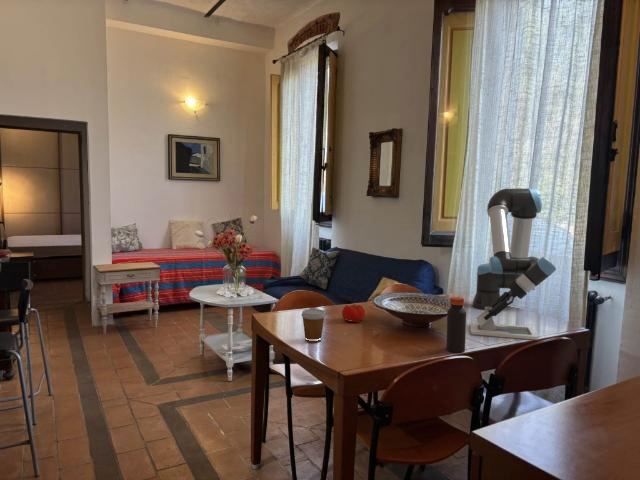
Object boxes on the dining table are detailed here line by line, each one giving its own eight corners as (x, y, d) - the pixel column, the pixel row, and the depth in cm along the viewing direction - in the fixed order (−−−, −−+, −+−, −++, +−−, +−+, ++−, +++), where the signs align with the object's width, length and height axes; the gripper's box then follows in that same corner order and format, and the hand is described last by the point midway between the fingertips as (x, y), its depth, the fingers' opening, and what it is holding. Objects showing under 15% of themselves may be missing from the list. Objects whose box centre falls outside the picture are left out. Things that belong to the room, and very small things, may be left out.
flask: (497, 332, 196) (498, 309, 195) (480, 331, 197) (480, 308, 196) (495, 328, 203) (495, 305, 202) (477, 327, 204) (478, 305, 203)
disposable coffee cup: (327, 344, 181) (327, 313, 180) (302, 345, 179) (303, 314, 178) (322, 336, 190) (323, 308, 189) (300, 337, 189) (300, 309, 188)
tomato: (346, 324, 209) (346, 308, 209) (339, 318, 220) (339, 303, 219) (368, 323, 212) (368, 307, 211) (360, 317, 222) (361, 302, 222)
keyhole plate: (469, 325, 210) (470, 321, 210) (532, 330, 202) (532, 326, 202) (471, 334, 194) (471, 331, 194) (538, 340, 187) (538, 336, 187)
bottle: (467, 353, 171) (469, 300, 169) (449, 353, 170) (451, 300, 169) (460, 347, 178) (462, 296, 176) (443, 347, 177) (445, 296, 175)
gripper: (530, 297, 186) (486, 334, 192) (524, 289, 203) (483, 323, 209) (517, 283, 187) (473, 320, 193) (512, 276, 204) (471, 311, 210)
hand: (478, 321), depth 201 cm, fingers closed on flask, 4 cm apart
